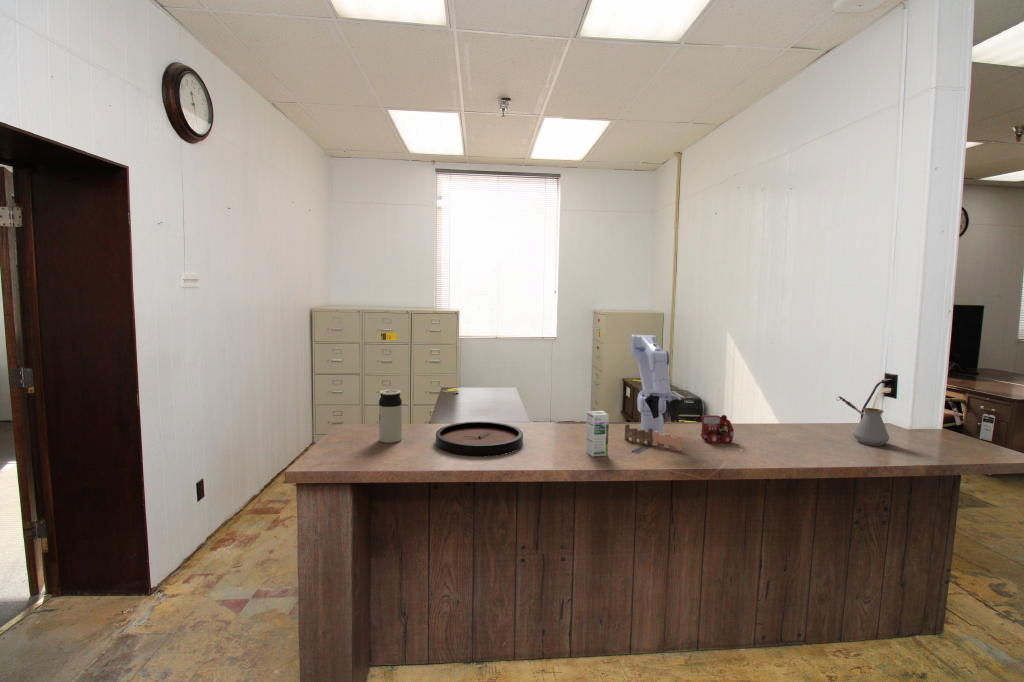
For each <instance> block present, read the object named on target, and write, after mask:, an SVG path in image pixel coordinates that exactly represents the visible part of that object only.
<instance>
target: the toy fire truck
mask: <svg viewBox="0 0 1024 682" xmlns="http://www.w3.org/2000/svg"><path fill="white" fill-rule="evenodd" d="M700 421H701V433H700V437H701V439H702V440H704V441H707V440H708V441H707V442H708V443H709V444H711V445H712V444H715V445H716V444H718V443H719V442H721V443H722V444H724V445H728V444H729V445H731V444H732V442H733V440H734V439H733V438H734V431H735V430H734V427H733V425H732V423H731V421H730V420H729V419H728V417H727V415H725V414H722V415H721V416H720V415H718V414H717V415H715V414H714V415H711V414H708V415H705V414H704V415H703V414H702V415H701V418H700ZM719 440H721V441H719Z"/></svg>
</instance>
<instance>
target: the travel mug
mask: <svg viewBox="0 0 1024 682" xmlns="http://www.w3.org/2000/svg"><path fill="white" fill-rule="evenodd" d="M401 393H402V391H401V390H400V389H383V390H380V391H379V394H380V398H379V400H378V432H379V435H378V440H379V441H380V442H381V443H386V444H394V443H397V442H401V440H402V439H403V435H402V433H403V425H402V423H403V421H402V420H403V419H402V418H403V417H402V416H403V413H402V412H403V411H402V410H403V409H402V408H403V404H402V402H403V401H402V398H401Z"/></svg>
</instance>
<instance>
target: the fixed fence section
mask: <svg viewBox="0 0 1024 682" xmlns="http://www.w3.org/2000/svg"><path fill="white" fill-rule="evenodd" d="M652 432H653V429H652V428H648V432H647V431H645V430H643V429H641V428H640V429H638V428H637V427H633V428H631V427H630V424H629V423H625V424H624V441H630V439H631V442H632V443H637V442H638V444H642V445H644V444H645V441H646V445H652V446H653V439H652ZM638 440H639V441H638Z"/></svg>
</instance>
